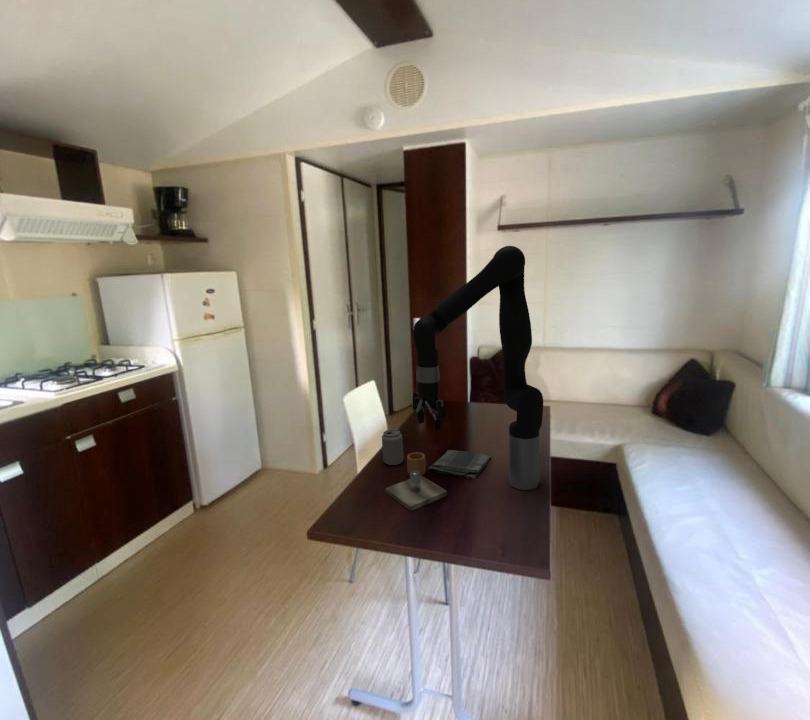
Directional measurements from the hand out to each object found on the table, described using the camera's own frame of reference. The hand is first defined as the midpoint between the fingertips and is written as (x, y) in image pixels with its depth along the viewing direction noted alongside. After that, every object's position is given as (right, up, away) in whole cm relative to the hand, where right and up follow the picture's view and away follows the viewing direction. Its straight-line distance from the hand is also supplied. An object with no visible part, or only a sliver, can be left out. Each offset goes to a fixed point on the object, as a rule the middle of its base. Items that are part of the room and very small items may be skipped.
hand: (428, 426), depth 142 cm
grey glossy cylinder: (-5, -19, -6) cm, 21 cm away
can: (-12, -16, +18) cm, 27 cm away
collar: (-4, -18, +9) cm, 20 cm away
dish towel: (+12, -17, +13) cm, 24 cm away
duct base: (-4, -21, -5) cm, 22 cm away
